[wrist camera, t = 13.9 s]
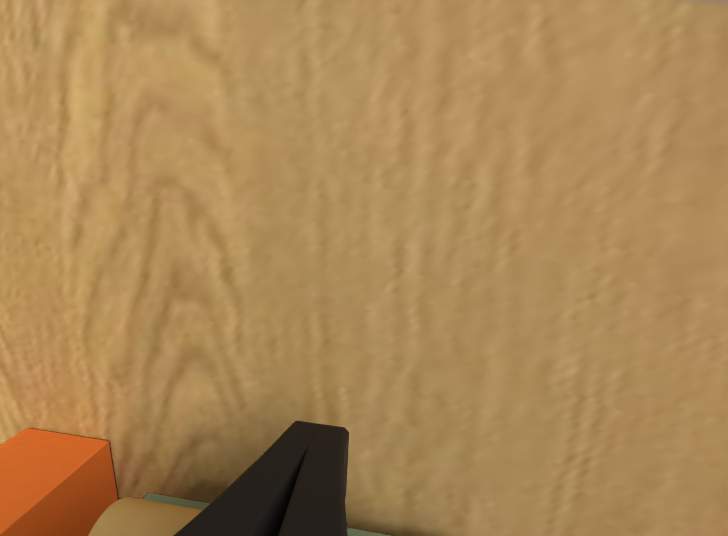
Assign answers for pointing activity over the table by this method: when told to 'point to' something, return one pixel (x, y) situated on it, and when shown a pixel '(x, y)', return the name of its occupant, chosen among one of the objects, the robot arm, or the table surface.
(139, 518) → the drawer
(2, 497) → the orange rectangular block
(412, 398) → the table surface
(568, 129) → the table surface
